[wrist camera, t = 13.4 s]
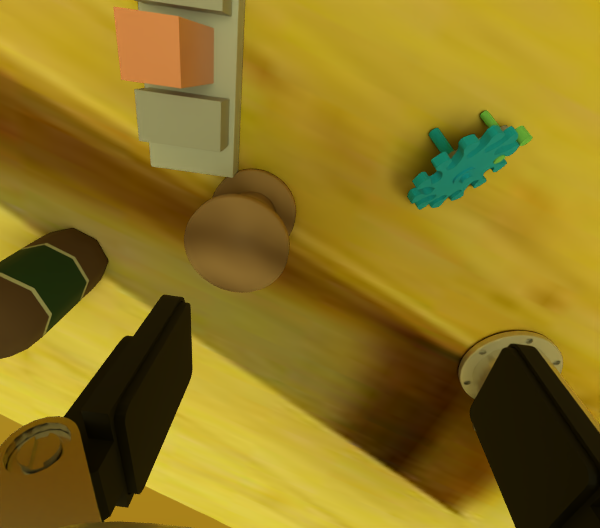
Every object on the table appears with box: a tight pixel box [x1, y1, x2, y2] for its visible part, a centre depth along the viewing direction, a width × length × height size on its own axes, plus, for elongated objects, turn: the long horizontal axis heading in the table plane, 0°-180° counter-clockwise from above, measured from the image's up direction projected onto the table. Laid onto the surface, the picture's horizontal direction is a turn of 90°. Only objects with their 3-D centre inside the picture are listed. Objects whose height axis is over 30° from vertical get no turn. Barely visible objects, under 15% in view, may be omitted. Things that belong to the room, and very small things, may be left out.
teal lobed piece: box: [407, 111, 532, 210], centre depth 32 cm, size 11×6×10 cm
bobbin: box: [184, 169, 296, 292], centre depth 35 cm, size 9×9×9 cm
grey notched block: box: [134, 0, 245, 178], centre depth 30 cm, size 16×8×6 cm, turn 173°
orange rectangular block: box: [114, 7, 214, 88], centre depth 26 cm, size 4×4×8 cm
